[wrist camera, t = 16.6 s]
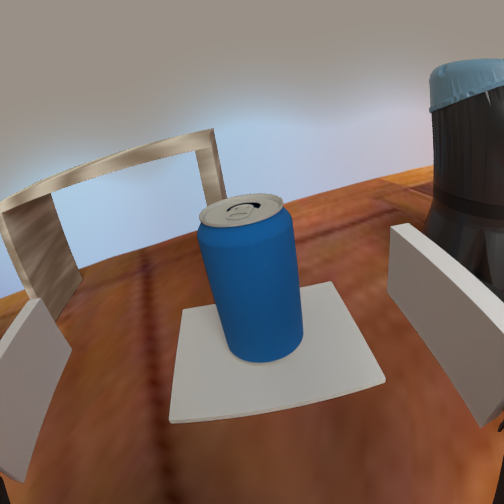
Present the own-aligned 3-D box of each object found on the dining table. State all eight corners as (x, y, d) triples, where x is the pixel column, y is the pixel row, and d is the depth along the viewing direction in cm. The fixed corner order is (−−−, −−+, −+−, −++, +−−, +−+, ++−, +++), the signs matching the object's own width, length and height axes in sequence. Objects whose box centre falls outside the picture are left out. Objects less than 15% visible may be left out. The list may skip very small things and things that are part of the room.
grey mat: (331, 284, 32) (331, 281, 32) (384, 382, 19) (385, 378, 19) (184, 312, 32) (183, 309, 31) (171, 423, 19) (168, 420, 19)
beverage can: (305, 316, 27) (292, 188, 22) (301, 369, 22) (286, 221, 16) (237, 317, 29) (209, 197, 23) (221, 368, 23) (177, 231, 18)
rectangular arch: (237, 249, 43) (213, 128, 36) (243, 297, 33) (209, 133, 25) (75, 281, 43) (39, 181, 35) (45, 326, 32) (-9, 206, 25)
